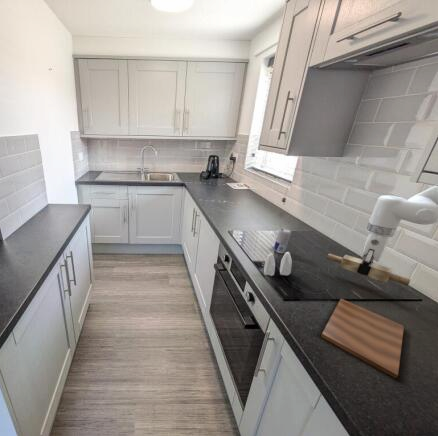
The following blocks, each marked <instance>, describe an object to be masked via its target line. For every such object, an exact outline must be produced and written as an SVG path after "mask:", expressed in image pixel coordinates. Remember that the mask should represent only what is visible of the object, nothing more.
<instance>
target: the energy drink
mask: <svg viewBox="0 0 438 436" xmlns="http://www.w3.org/2000/svg"><path fill="white" fill-rule="evenodd" d="M291 235H292V231H291V229H288V228H284V227H280V228H279V229H278V231H277V235H276V238H275V242H274V246H273V251H274V252H275V253H278V254H285V253H286V252H287V249H288V245H289V241H290V237H291Z"/></svg>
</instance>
